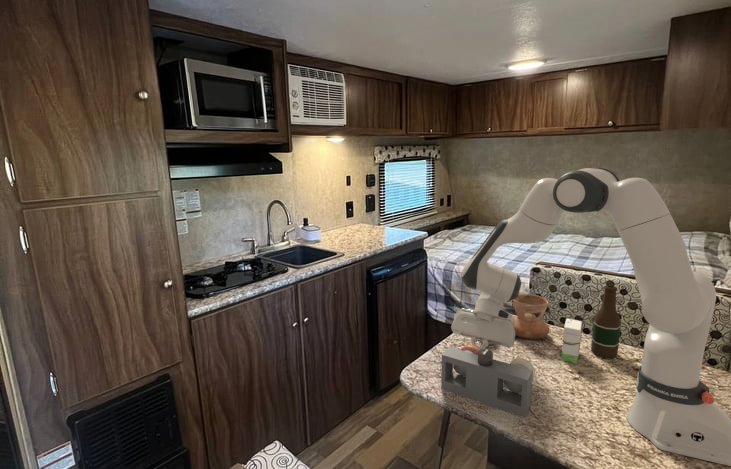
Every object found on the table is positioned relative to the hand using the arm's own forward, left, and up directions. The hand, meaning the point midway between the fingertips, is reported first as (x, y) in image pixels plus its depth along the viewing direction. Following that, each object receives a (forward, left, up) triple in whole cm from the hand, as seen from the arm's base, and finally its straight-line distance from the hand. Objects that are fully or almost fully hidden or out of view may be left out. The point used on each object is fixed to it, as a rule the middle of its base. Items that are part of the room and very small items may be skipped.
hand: (476, 352), depth 125 cm
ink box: (-24, -24, -6) cm, 34 cm away
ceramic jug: (-8, -34, -6) cm, 36 cm away
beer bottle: (-33, -32, -6) cm, 46 cm away
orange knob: (0, +8, -3) cm, 8 cm away
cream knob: (-15, +8, -3) cm, 17 cm away
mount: (-7, +14, -5) cm, 17 cm away
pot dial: (-7, +14, +6) cm, 17 cm away
